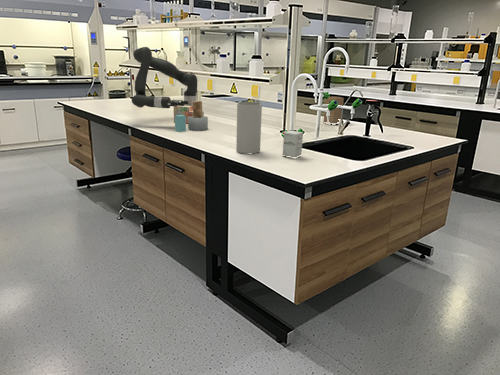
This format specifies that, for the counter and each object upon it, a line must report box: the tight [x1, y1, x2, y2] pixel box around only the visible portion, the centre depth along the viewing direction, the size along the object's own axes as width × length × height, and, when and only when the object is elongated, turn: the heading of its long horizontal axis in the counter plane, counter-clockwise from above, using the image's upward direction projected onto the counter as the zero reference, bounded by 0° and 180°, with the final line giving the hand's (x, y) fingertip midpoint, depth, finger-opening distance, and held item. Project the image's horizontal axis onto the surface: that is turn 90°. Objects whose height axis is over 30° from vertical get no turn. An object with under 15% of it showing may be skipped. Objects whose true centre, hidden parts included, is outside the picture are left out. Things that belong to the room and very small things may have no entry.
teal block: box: [174, 115, 187, 133], centre depth 255 cm, size 5×5×10 cm
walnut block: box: [193, 100, 203, 118], centre depth 260 cm, size 5×5×10 cm
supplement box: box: [282, 130, 304, 157], centre depth 199 cm, size 7×7×13 cm
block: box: [323, 96, 345, 123], centre depth 297 cm, size 10×10×20 cm
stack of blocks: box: [172, 105, 205, 125], centre depth 282 cm, size 21×6×12 cm, turn 68°
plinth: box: [187, 115, 209, 132], centre depth 263 cm, size 13×13×8 cm
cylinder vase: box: [235, 101, 263, 154], centre depth 204 cm, size 12×12×25 cm
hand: (186, 103), depth 260 cm, fingers open, 8 cm apart
